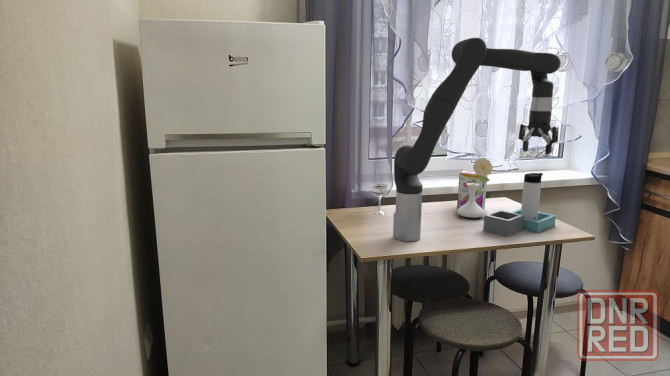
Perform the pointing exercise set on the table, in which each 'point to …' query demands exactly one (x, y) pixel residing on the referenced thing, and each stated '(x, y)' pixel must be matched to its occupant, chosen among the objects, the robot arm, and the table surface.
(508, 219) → the holder sleeve
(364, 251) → the table surface
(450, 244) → the table surface
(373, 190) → the wineglass
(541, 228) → the tray
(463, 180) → the candy bar box
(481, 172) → the flower in vase
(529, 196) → the travel mug
